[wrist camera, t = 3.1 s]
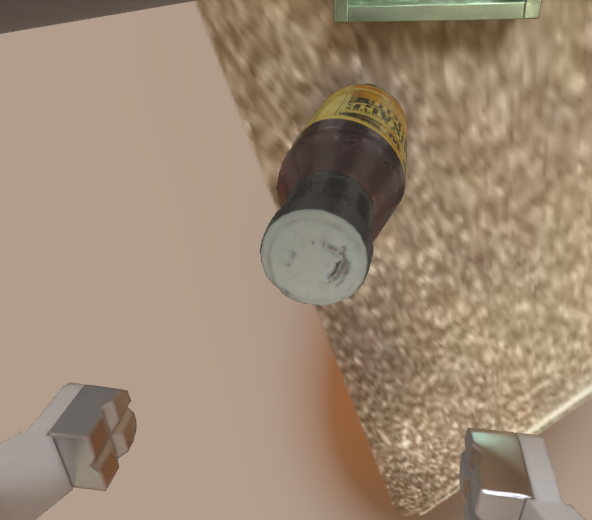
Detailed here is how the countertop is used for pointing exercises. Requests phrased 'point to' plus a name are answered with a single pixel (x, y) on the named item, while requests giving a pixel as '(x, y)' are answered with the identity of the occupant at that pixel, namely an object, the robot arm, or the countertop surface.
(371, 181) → the sauce bottle
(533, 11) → the green shallow open box
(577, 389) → the countertop surface
